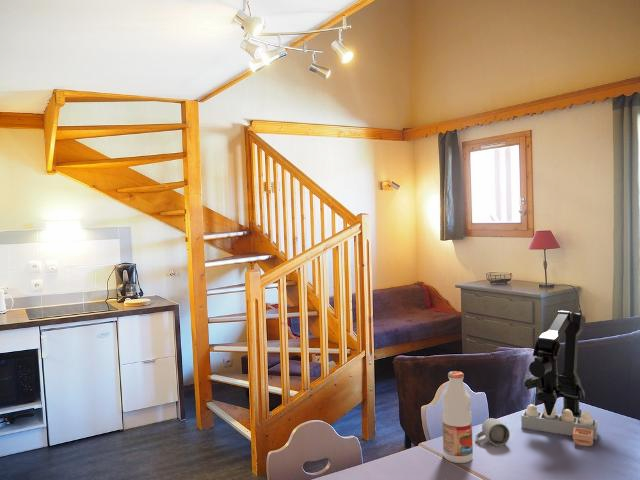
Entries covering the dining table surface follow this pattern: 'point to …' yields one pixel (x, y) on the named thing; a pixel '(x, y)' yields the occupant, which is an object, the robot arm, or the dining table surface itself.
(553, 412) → the egg
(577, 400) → the robot arm
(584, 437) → the egg cup
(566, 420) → the egg carton
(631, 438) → the dining table surface
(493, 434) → the ceramic mug
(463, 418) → the fruit juice
